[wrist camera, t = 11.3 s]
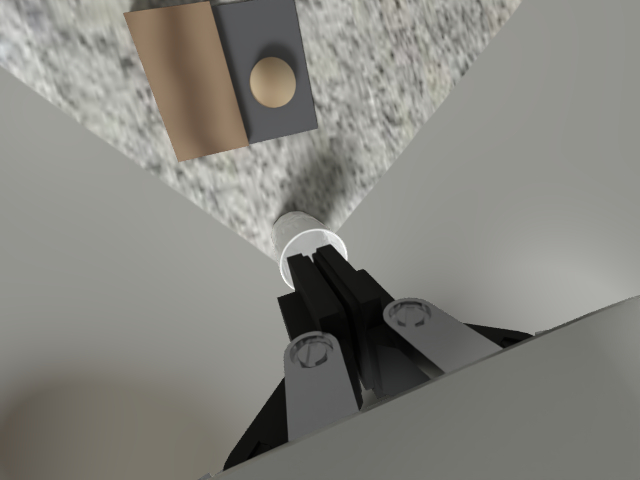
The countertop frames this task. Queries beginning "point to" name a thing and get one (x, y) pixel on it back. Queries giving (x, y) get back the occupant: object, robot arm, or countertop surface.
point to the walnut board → (189, 78)
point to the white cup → (301, 239)
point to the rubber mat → (256, 44)
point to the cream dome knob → (272, 82)
